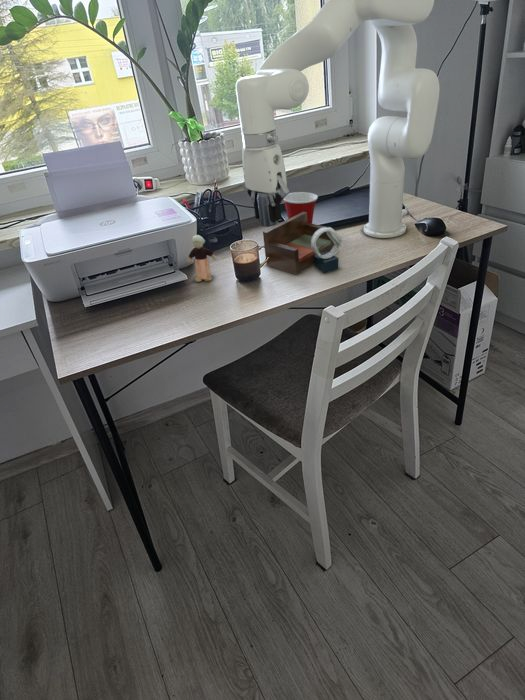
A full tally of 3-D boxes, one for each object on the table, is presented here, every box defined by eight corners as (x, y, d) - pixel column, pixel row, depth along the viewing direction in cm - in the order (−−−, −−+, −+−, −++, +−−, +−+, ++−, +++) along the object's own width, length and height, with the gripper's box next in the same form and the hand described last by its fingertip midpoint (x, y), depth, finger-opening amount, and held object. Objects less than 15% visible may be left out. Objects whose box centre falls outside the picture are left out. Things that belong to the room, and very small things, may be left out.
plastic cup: (326, 234, 144) (325, 195, 137) (295, 243, 140) (293, 204, 133) (307, 224, 152) (306, 187, 145) (279, 232, 148) (275, 195, 141)
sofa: (304, 244, 139) (303, 211, 133) (334, 251, 132) (334, 217, 127) (266, 265, 130) (262, 231, 124) (296, 275, 123) (293, 239, 117)
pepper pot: (268, 218, 117) (264, 187, 112) (281, 221, 114) (278, 189, 110) (256, 224, 115) (252, 192, 110) (269, 228, 112) (265, 195, 107)
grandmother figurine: (192, 284, 125) (182, 240, 118) (191, 278, 128) (182, 234, 121) (220, 279, 126) (212, 235, 118) (218, 273, 129) (211, 230, 122)
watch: (344, 267, 124) (344, 227, 118) (318, 275, 122) (316, 235, 115) (334, 259, 128) (333, 221, 122) (308, 267, 126) (306, 228, 120)
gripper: (299, 137, 100) (304, 219, 111) (244, 133, 110) (254, 208, 121) (276, 146, 96) (284, 230, 107) (222, 141, 106) (234, 218, 117)
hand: (268, 218), depth 114 cm, fingers closed on pepper pot, 4 cm apart
